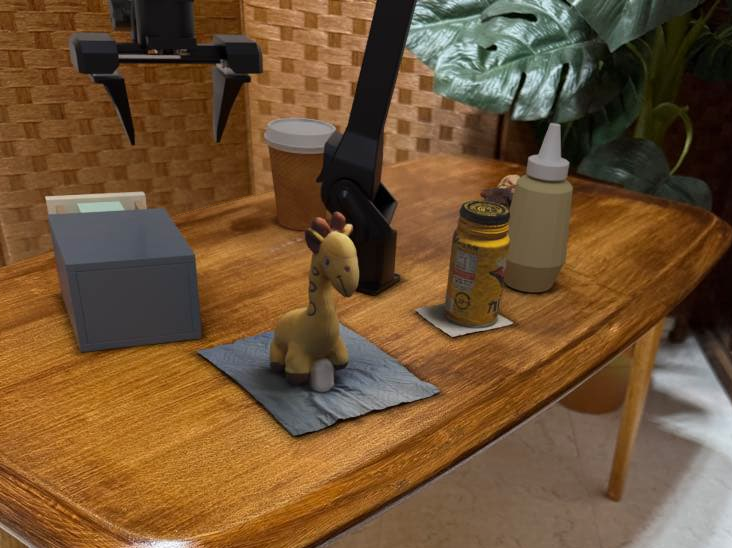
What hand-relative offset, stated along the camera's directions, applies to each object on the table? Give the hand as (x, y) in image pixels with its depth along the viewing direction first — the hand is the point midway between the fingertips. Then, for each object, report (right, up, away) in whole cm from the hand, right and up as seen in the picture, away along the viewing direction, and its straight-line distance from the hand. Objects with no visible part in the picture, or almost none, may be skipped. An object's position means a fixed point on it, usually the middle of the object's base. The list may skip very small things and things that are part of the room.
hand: (175, 143), depth 93 cm
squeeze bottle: (+40, -12, +11) cm, 43 cm away
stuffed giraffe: (+17, -28, -11) cm, 34 cm away
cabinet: (-3, -20, -5) cm, 21 cm away
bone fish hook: (+41, +5, +32) cm, 53 cm away
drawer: (-8, -13, +2) cm, 15 cm away
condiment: (+32, -19, +1) cm, 37 cm away
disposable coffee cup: (+11, -1, +21) cm, 24 cm away
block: (-8, -12, +1) cm, 15 cm away
